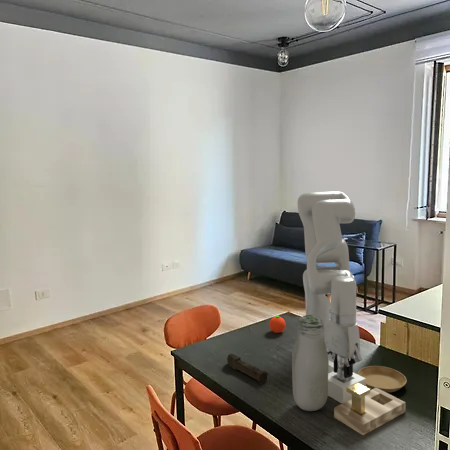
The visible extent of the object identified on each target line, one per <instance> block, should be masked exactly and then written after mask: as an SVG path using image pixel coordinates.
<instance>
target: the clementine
mask: <svg viewBox="0 0 450 450" xmlns="http://www.w3.org/2000/svg"><path fill="white" fill-rule="evenodd" d="M286 325H287V324H286V320H285V319H284V318H283V317H281V316H280V315H275V316H274V317H272V318H271V319H270V321H269V325H268V326H269V329H270V330H271V331H272V332H273V333H275V334H281V333H282V332H284V330H285V329H286Z"/></svg>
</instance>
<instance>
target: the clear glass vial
mask: <svg viewBox="0 0 450 450" xmlns="http://www.w3.org/2000/svg"><path fill="white" fill-rule="evenodd" d="M345 365H346V362H345V357H342V356H340V355H338V354H337V380H339V381H341V382H343V383H345V382H348V381H349V377H348V378H344V366H345Z"/></svg>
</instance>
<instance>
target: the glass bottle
mask: <svg viewBox="0 0 450 450" xmlns="http://www.w3.org/2000/svg"><path fill="white" fill-rule="evenodd" d="M296 327H297V332H296V335H295V341H294V343H293V344H294V345H293V348H292V353H291V373H292V374H291V378H292V380H291V381H292V395H293V400H294V402H295V404H296V405H297V406H298V407H299V408H300V409H301V410H303V411H305V412H306V411H307V412H316V411H318V410H320V409H322V408H323V407H324V406H325V405H326V402H327V399H328V397H329V396H328V366H329V361H330V360H329V354H328V352H327V350H326V346H325V342H324V336H323V331H324V326H323V322H322V320H321V319H320V318H319V317H318V316H316V315H306V314H305V315H303V316H301V317H300V318H298V321H297V325H296ZM328 360H329V361H328Z"/></svg>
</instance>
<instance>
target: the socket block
mask: <svg viewBox="0 0 450 450" xmlns="http://www.w3.org/2000/svg"><path fill="white" fill-rule="evenodd" d="M406 403H407V402H406V401H404V400H401V399H400V398H397V397H396V396H394V395H392V394H390V393H386V392H384V391H382V390H380V389H378V388H374V389H370V394H368V395H366V396H365V414H364V415H362V416H361V415H359V414H357V413H355V412H354V411H352V399H351V400H349V401H347V402H345V403H343V404H342V403H339V405H337V406H334V409H333V412H334V413H333V418H334V419H336V420H337V421H339V422H341V423H342V424H345V426H347V427H349V428H351V429H353V431H355V432H357V433H358V434H360V435H362V436H365V435H366V434H368V433H370V432H373V430H376V429H377V428H380V427H381V426H383V425H385V424H387V423H388V422H390V421H392V420H394V419H395V418H398V417H399V416H401V415H403V414H404V413H406Z"/></svg>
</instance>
